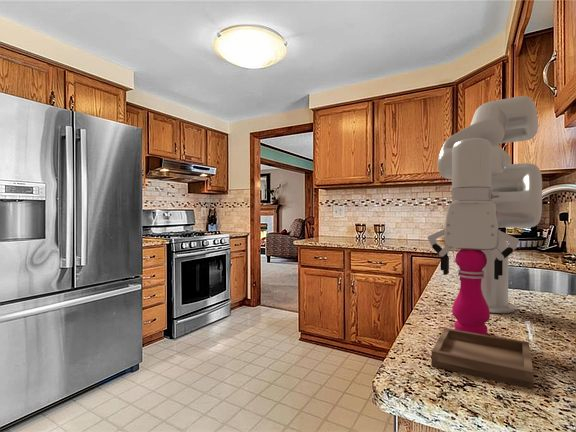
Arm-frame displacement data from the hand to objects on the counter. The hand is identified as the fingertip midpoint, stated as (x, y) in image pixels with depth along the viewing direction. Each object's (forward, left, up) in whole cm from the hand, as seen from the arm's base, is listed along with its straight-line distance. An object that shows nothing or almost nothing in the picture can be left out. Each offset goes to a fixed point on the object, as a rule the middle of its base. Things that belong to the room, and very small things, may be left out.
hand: (470, 276), depth 73 cm
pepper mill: (0, 0, -13) cm, 13 cm away
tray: (+15, +3, -12) cm, 19 cm away
